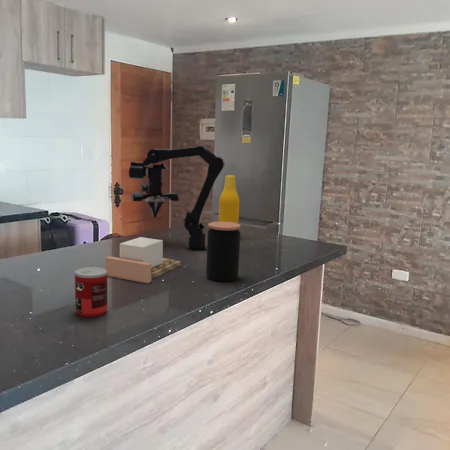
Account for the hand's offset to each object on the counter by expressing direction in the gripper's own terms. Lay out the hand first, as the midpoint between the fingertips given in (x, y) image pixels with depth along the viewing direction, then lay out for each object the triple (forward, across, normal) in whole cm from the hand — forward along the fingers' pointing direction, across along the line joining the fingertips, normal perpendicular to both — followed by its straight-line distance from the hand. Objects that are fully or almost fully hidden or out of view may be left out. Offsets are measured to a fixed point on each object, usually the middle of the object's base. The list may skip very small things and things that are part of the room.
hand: (154, 217), depth 191 cm
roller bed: (+12, +10, +34) cm, 37 cm away
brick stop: (+12, +18, +42) cm, 47 cm away
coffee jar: (+12, -12, +48) cm, 51 cm away
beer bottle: (+12, -36, -7) cm, 39 cm away
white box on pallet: (+9, +13, +37) cm, 40 cm away
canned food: (+12, +32, +68) cm, 76 cm away
